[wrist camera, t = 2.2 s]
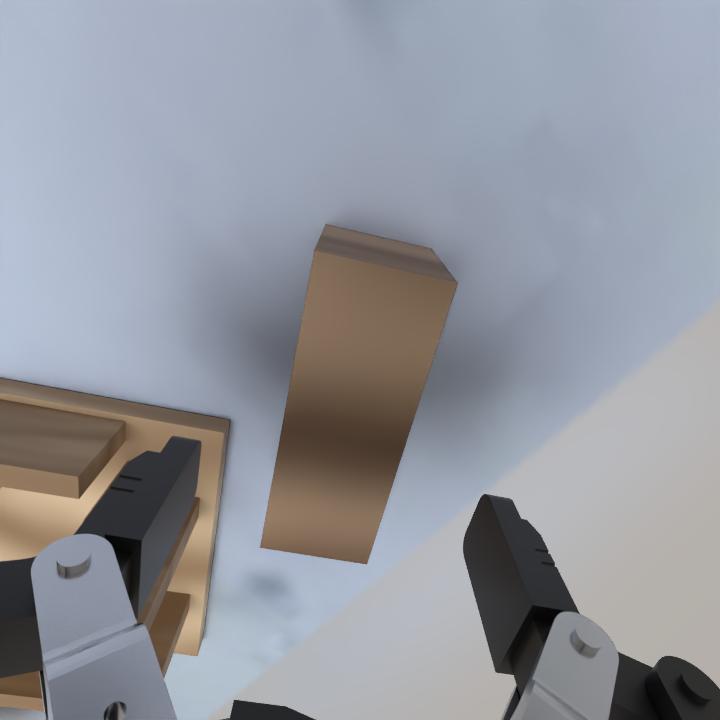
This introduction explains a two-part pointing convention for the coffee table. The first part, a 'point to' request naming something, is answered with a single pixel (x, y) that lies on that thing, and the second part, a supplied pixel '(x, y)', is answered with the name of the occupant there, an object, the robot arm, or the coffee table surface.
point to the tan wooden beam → (353, 390)
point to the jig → (89, 484)
